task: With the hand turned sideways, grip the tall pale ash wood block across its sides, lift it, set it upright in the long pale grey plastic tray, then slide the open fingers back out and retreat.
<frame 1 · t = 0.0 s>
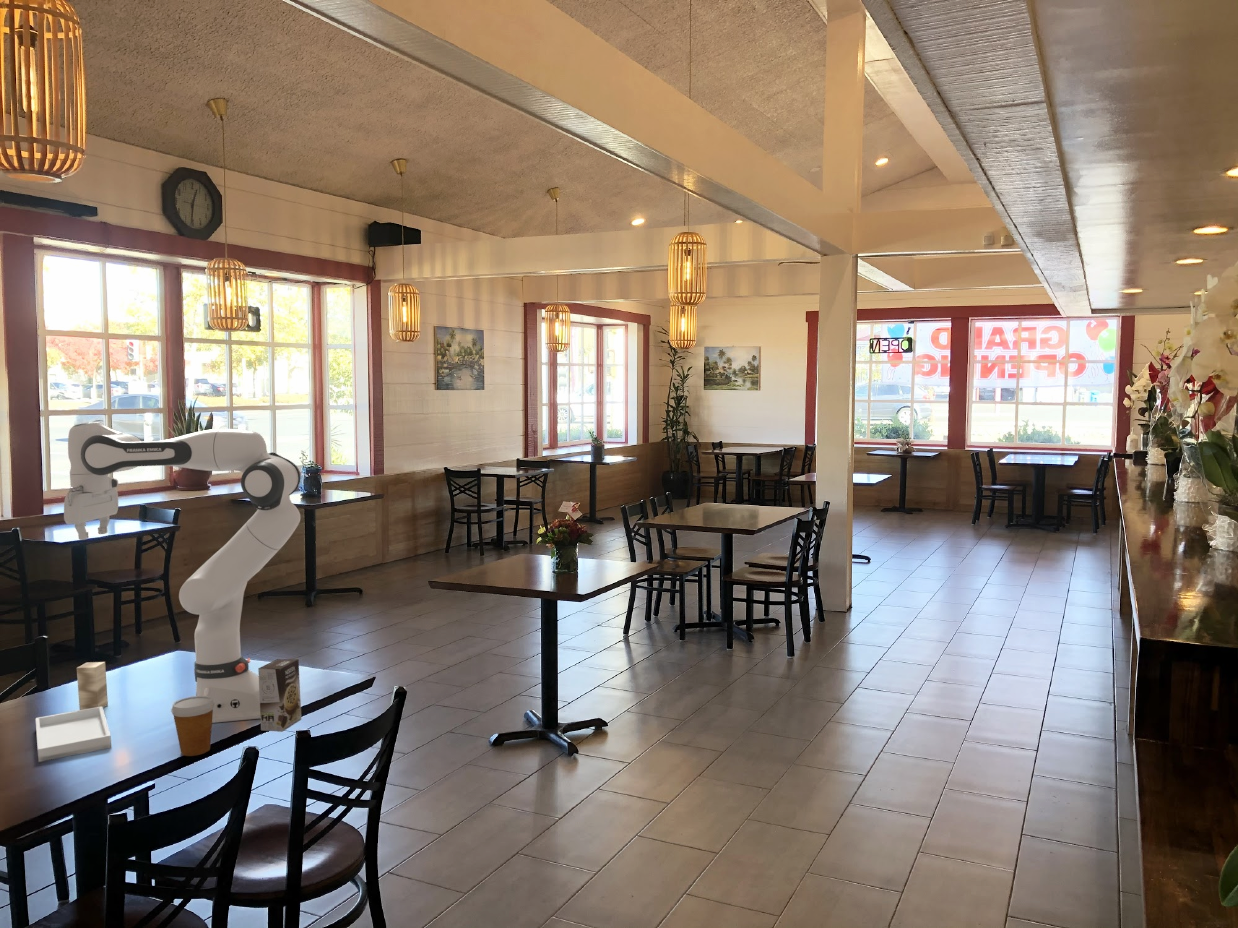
hand: (93, 536, 247), 48 cm above the table, tool pointing down, fingers open, 8 cm apart
disposable coffee cup: (195, 751, 224), on the table
tray: (72, 738, 234), on the table
ash block: (93, 707, 257), on the table
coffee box: (281, 725, 240), on the table
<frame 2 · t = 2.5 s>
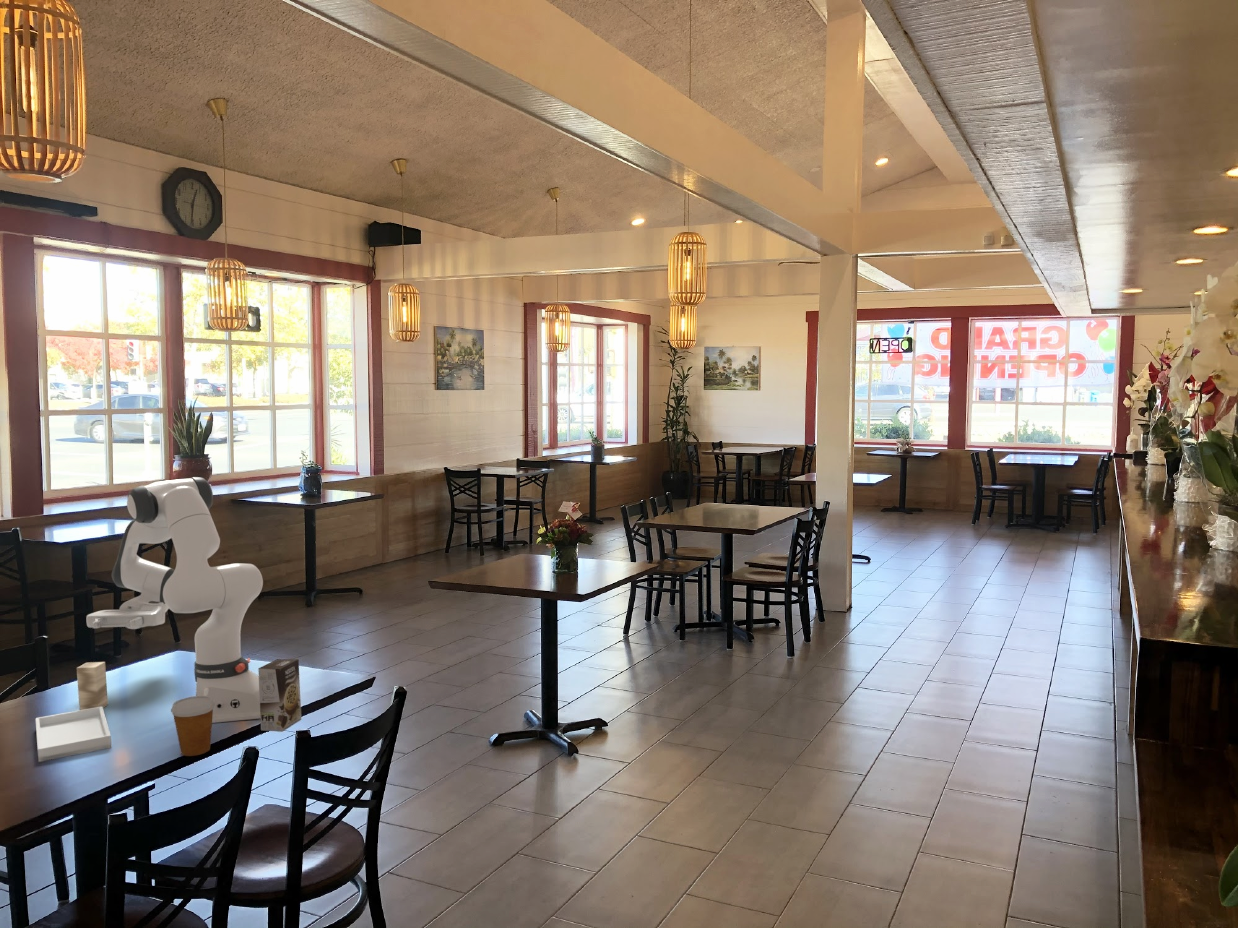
hand: (111, 625, 267), 20 cm above the table, tool horizontal, fingers open, 8 cm apart
nothing on the table moved.
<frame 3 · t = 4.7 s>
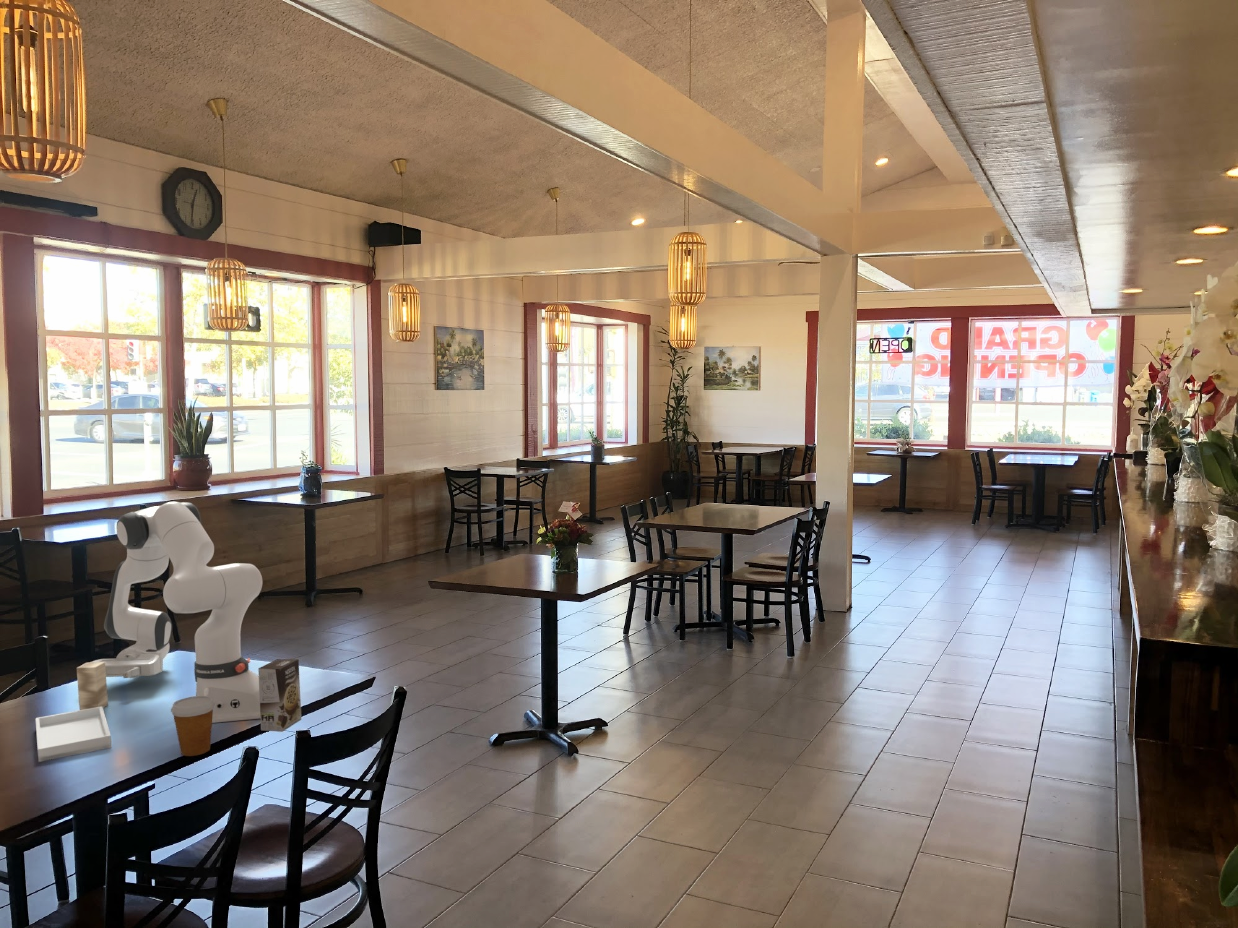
hand: (108, 675, 265), 6 cm above the table, tool horizontal, fingers open, 8 cm apart
nothing on the table moved.
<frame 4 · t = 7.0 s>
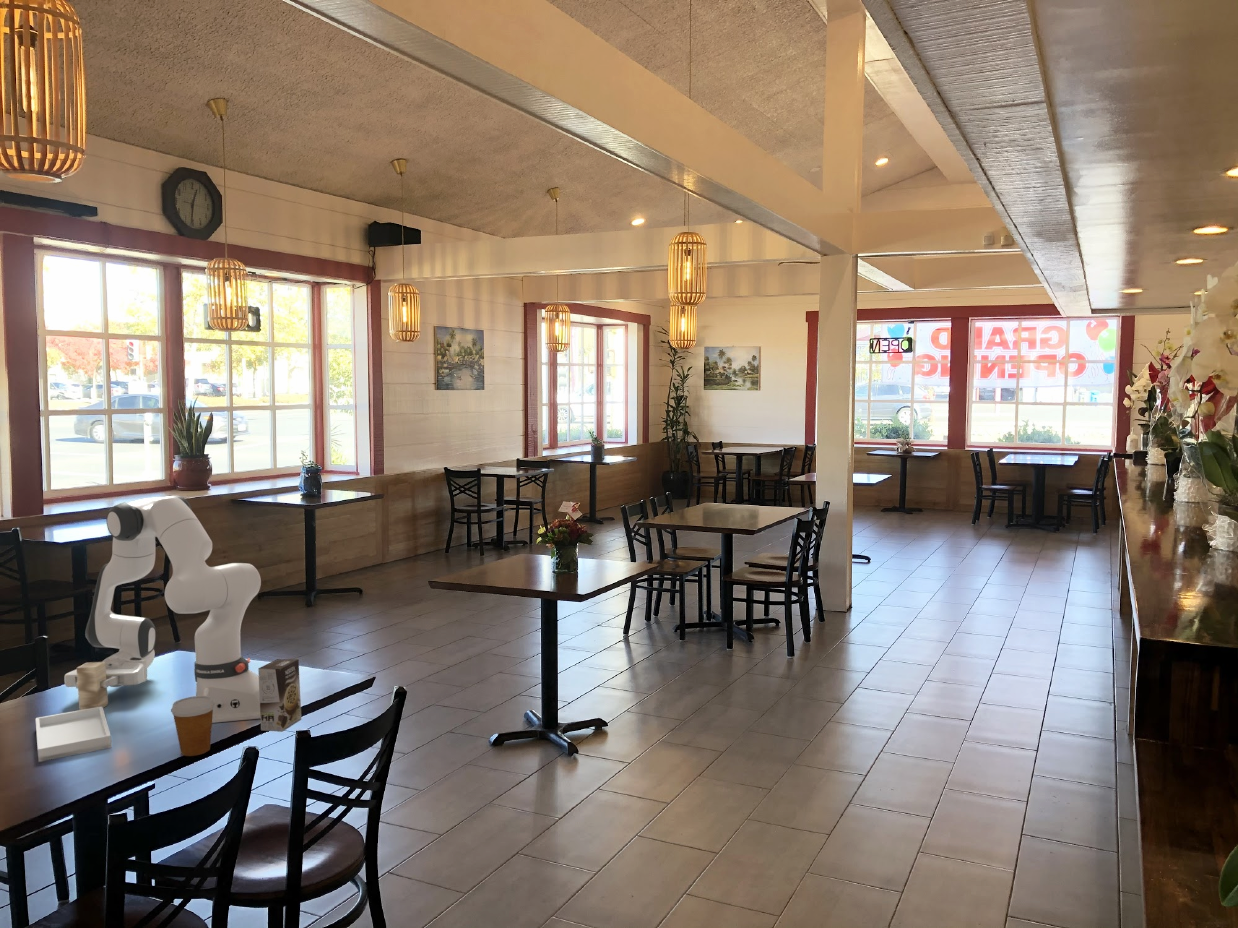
hand: (90, 685, 256), 7 cm above the table, tool horizontal, fingers closed on ash block, 5 cm apart
ash block: (93, 707, 257), on the table, touching gripper
everything else where it was.
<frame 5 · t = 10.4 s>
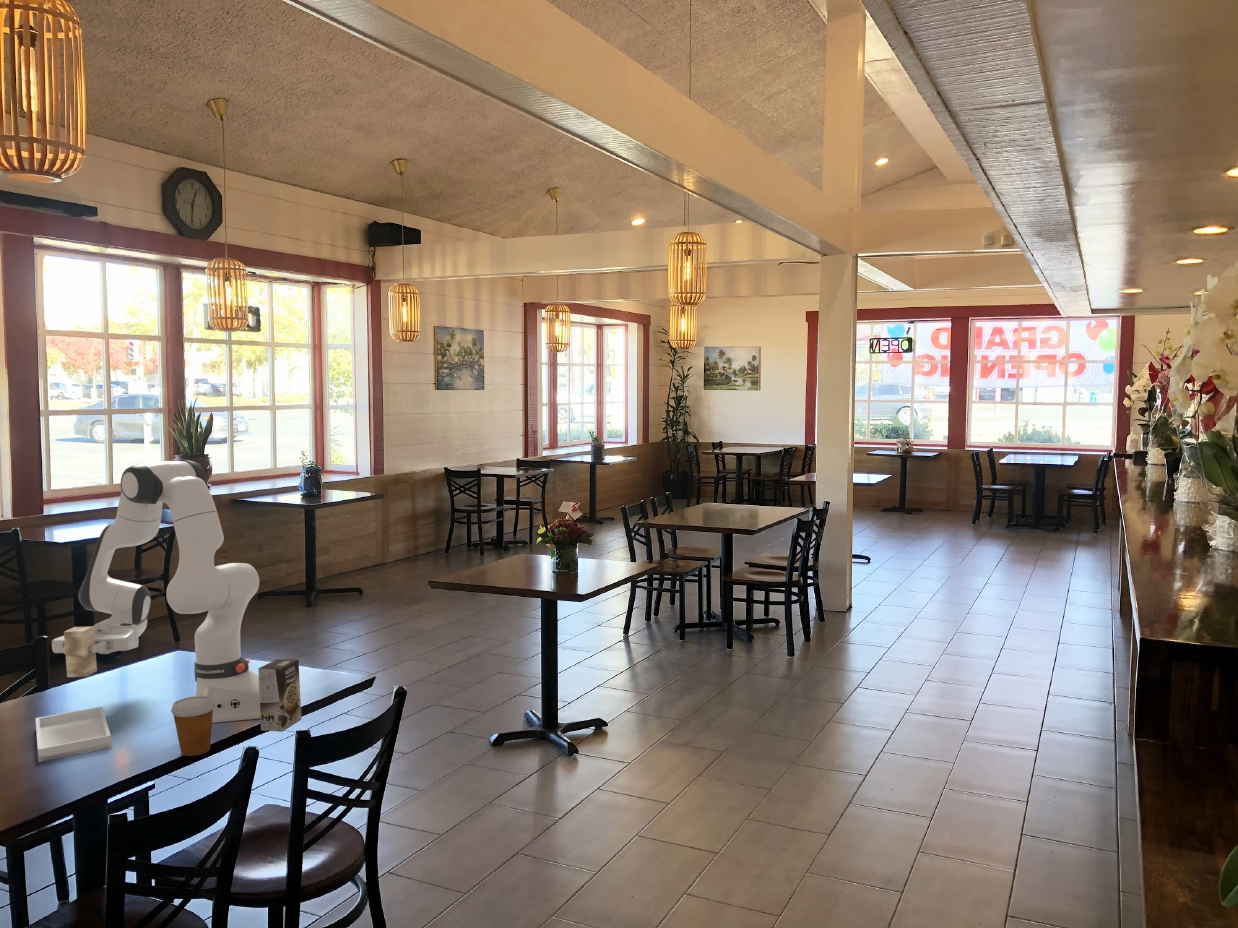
hand: (78, 650, 246), 19 cm above the table, tool horizontal, fingers closed on ash block, 5 cm apart
ash block: (82, 673, 247), point 12 cm above the table, touching gripper
everything else where it was.
when the fingers open (8 cm above the table, at t = 14.3 s): ash block stays where it is, resting on tray.
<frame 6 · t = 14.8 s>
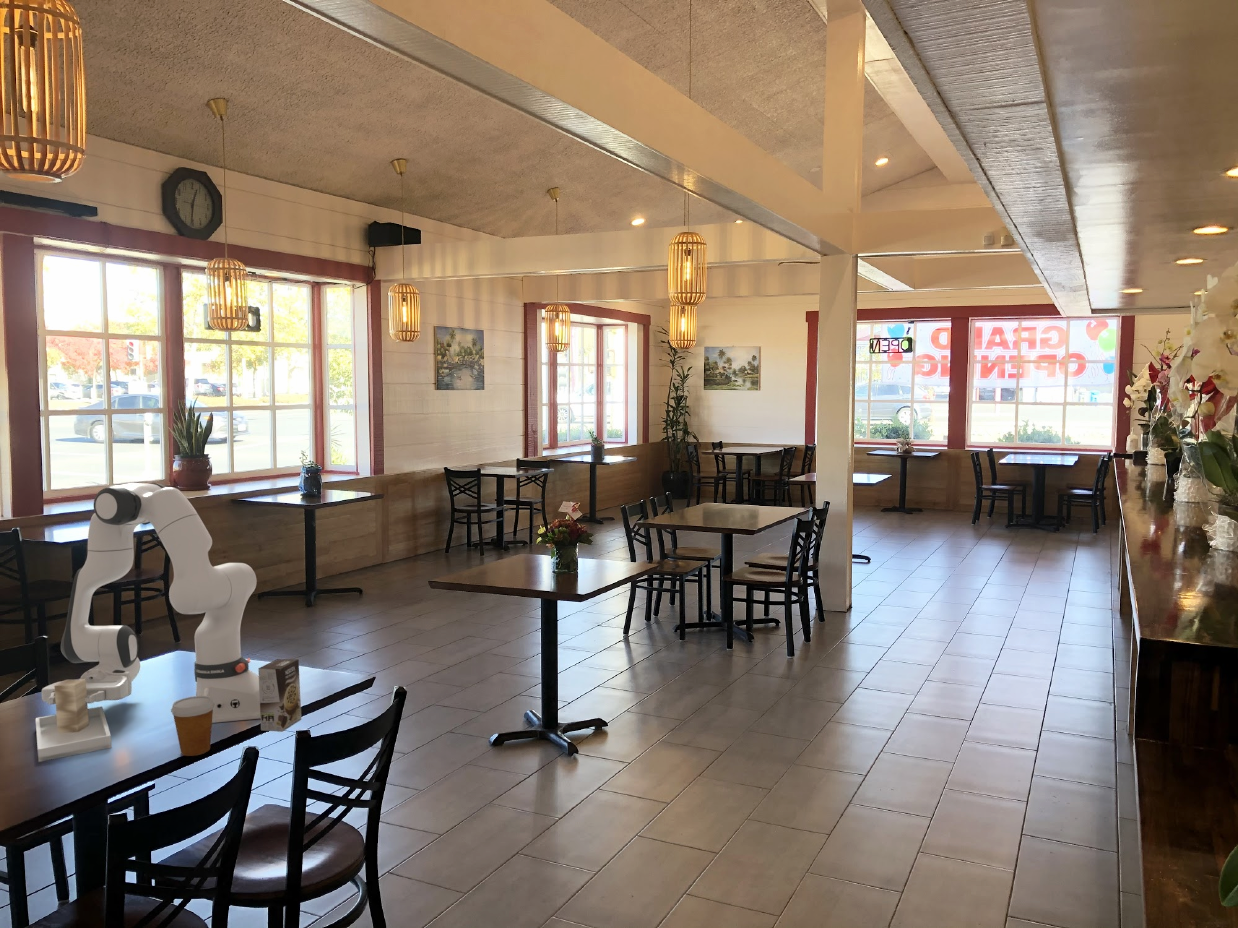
hand: (69, 700, 237), 8 cm above the table, tool horizontal, fingers open, 8 cm apart
ash block: (73, 728, 238), point 1 cm above the table, touching tray
everything else where it was.
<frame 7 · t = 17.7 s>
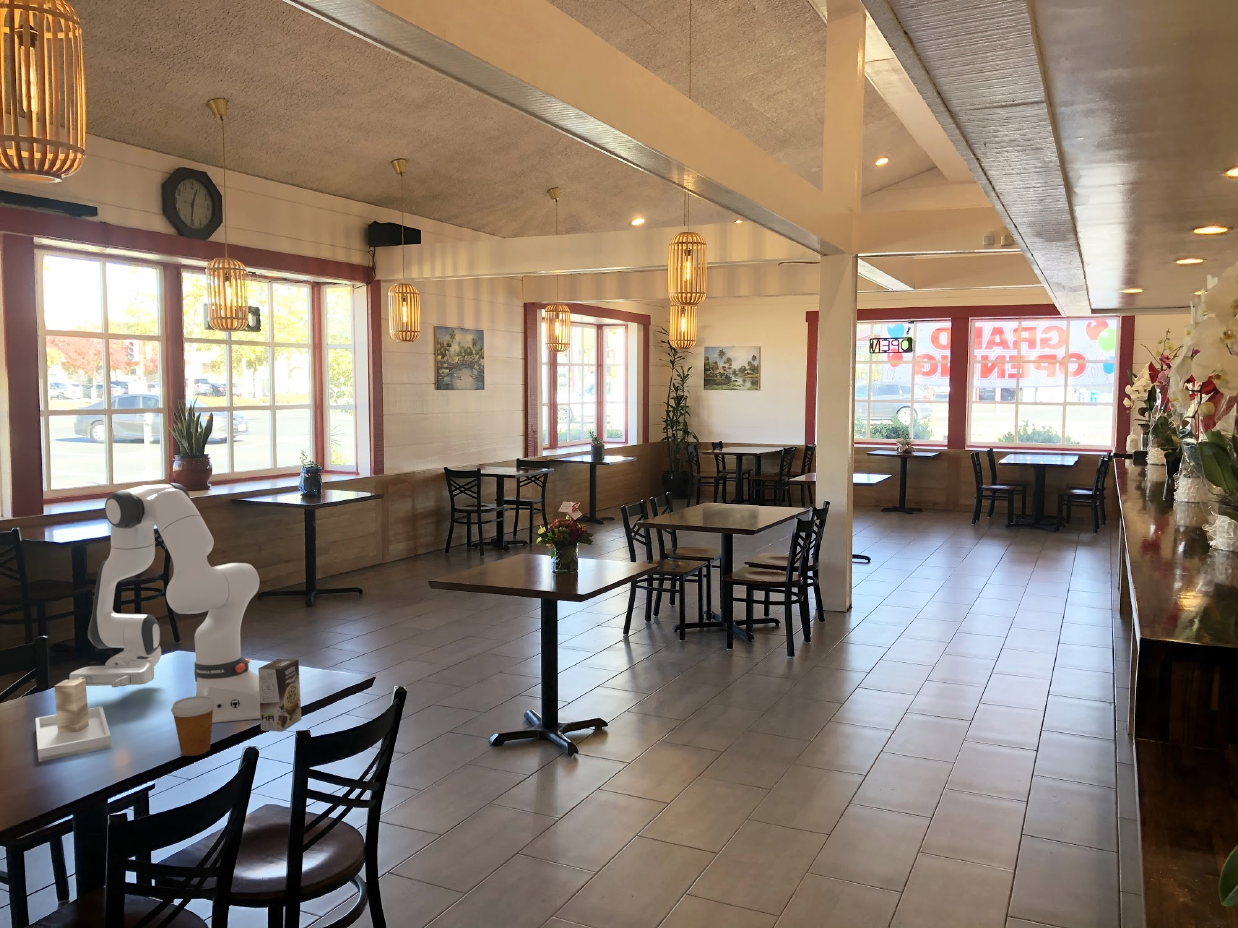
hand: (96, 684, 249), 9 cm above the table, tool horizontal, fingers open, 8 cm apart
nothing on the table moved.
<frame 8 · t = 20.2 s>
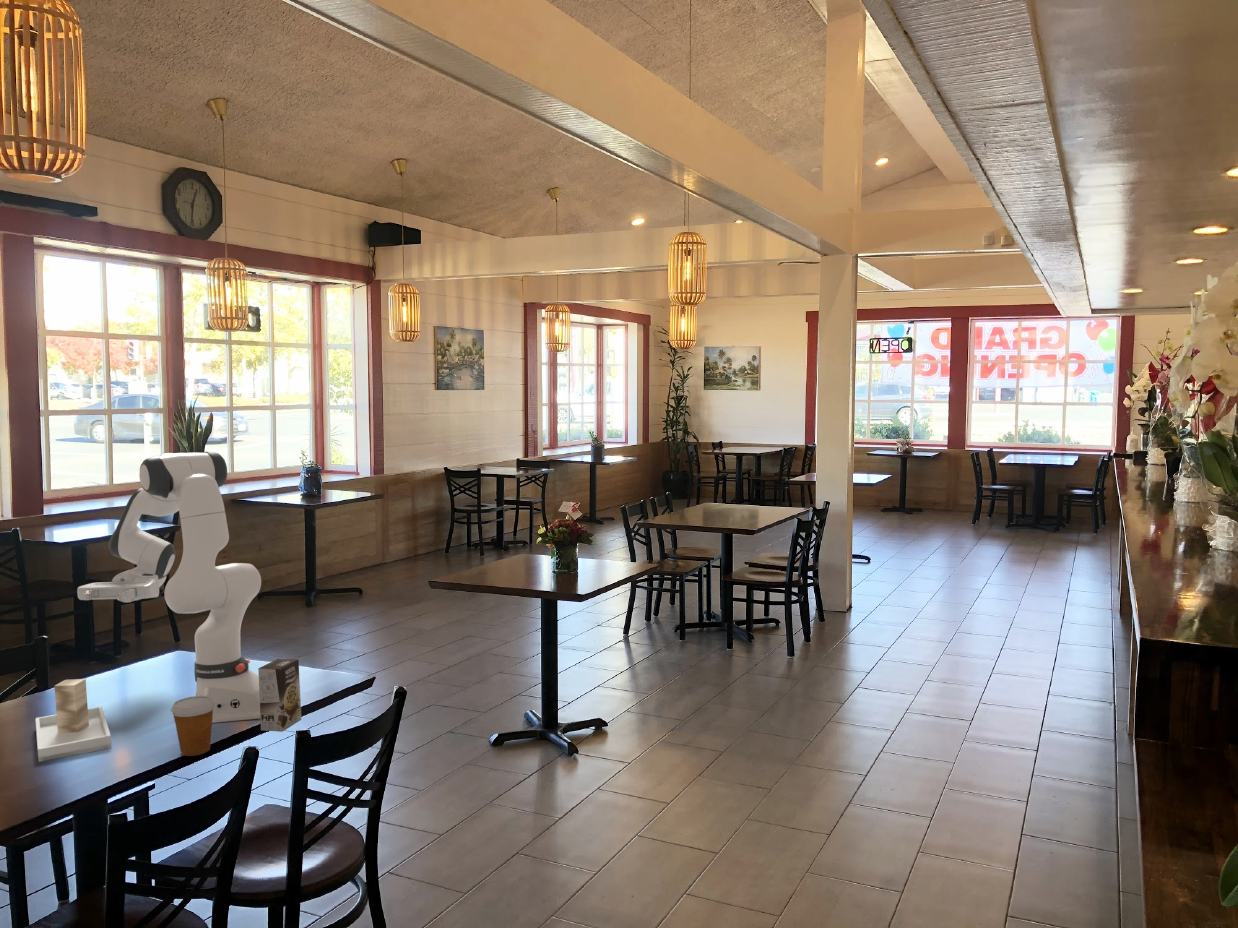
hand: (103, 596, 258), 30 cm above the table, tool horizontal, fingers open, 8 cm apart
nothing on the table moved.
at the end: ash block inside the target area (0.0 cm from its centre), point 1.0 cm above the table; ash block tilted 0°; the gripper is holding nothing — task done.
